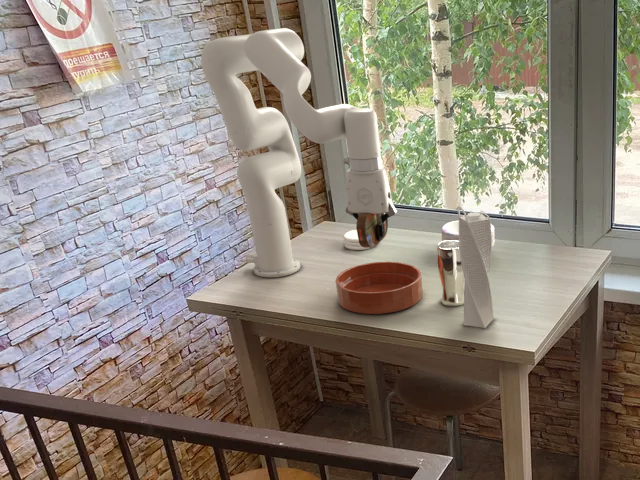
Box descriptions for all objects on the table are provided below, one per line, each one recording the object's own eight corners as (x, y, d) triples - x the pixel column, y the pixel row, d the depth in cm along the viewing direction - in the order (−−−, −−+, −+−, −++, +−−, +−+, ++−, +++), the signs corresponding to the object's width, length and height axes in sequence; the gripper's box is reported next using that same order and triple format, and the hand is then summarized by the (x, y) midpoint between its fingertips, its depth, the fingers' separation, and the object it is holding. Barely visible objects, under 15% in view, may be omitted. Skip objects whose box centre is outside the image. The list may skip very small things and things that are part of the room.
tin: (369, 253, 189) (365, 218, 185) (356, 252, 189) (352, 218, 185) (390, 232, 201) (387, 200, 197) (378, 232, 202) (375, 199, 198)
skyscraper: (456, 326, 186) (449, 210, 172) (469, 313, 192) (463, 200, 178) (487, 330, 184) (482, 213, 170) (499, 318, 190) (495, 203, 176)
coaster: (350, 239, 243) (349, 228, 241) (382, 240, 241) (380, 228, 239) (340, 250, 234) (338, 238, 232) (372, 251, 233) (371, 239, 231)
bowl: (325, 312, 194) (322, 290, 192) (357, 280, 212) (354, 259, 210) (407, 318, 191) (405, 295, 188) (432, 285, 209) (431, 263, 206)
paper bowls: (505, 249, 231) (504, 223, 228) (475, 265, 220) (474, 238, 216) (462, 241, 239) (461, 215, 235) (432, 256, 228) (430, 229, 224)
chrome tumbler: (457, 309, 195) (453, 251, 187) (434, 303, 198) (430, 246, 191) (473, 299, 200) (470, 242, 192) (450, 294, 203) (447, 238, 196)
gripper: (327, 167, 184) (337, 242, 193) (393, 168, 181) (400, 245, 190) (339, 159, 191) (349, 232, 200) (403, 160, 188) (410, 235, 197)
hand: (374, 238), depth 195 cm, fingers closed on tin, 2 cm apart
